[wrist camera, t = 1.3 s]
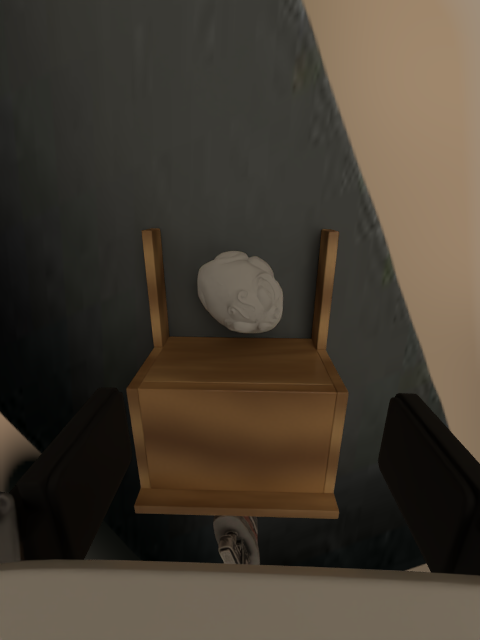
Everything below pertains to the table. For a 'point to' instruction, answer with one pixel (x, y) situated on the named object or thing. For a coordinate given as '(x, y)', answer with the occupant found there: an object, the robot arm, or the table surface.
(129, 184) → the table surface
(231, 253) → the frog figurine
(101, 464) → the robot arm
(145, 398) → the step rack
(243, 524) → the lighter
